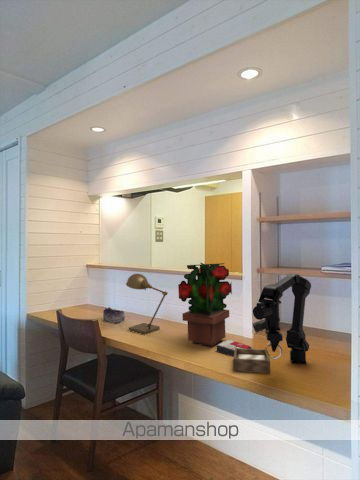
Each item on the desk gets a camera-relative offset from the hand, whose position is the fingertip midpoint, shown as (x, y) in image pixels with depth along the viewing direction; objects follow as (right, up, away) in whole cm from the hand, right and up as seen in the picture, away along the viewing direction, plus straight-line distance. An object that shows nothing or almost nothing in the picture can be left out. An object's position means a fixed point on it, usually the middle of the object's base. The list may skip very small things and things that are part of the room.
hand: (273, 350), depth 144 cm
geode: (-91, -12, +99) cm, 135 cm away
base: (-7, -11, +11) cm, 17 cm away
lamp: (-61, -11, +69) cm, 93 cm away
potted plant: (-25, -11, +45) cm, 53 cm away
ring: (0, -4, 0) cm, 4 cm away
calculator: (-12, -11, +29) cm, 34 cm away
